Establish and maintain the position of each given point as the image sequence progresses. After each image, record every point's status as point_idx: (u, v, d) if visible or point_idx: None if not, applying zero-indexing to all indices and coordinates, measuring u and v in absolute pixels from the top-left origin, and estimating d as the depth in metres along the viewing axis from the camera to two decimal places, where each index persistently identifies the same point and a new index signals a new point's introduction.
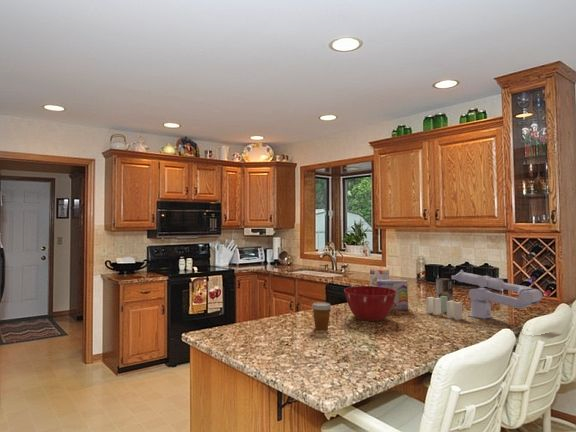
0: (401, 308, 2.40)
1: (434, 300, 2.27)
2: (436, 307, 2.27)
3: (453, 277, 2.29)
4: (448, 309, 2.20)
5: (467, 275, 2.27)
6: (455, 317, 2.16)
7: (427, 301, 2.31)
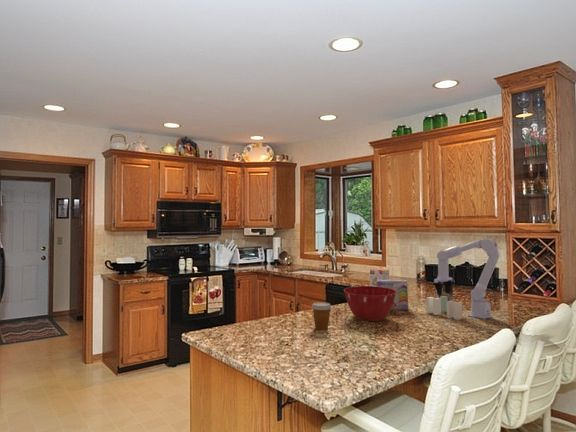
0: (401, 308, 2.40)
1: (434, 300, 2.27)
2: (436, 307, 2.27)
3: (435, 280, 2.31)
4: (448, 309, 2.20)
5: (439, 270, 2.35)
6: (455, 317, 2.16)
7: (427, 301, 2.31)
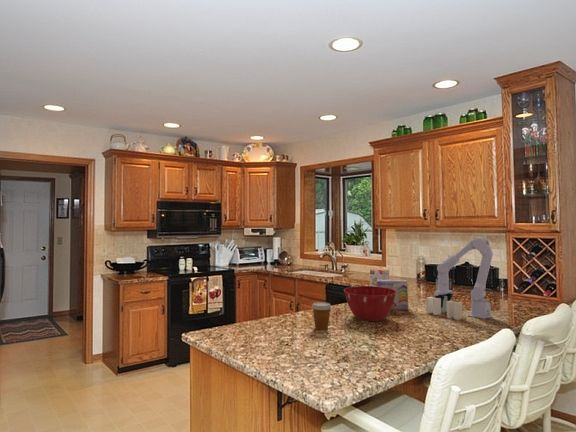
0: (401, 308, 2.40)
1: (434, 300, 2.27)
2: (436, 307, 2.27)
3: (435, 293, 2.31)
4: (448, 309, 2.20)
5: (439, 283, 2.34)
6: (455, 317, 2.16)
7: (427, 301, 2.31)
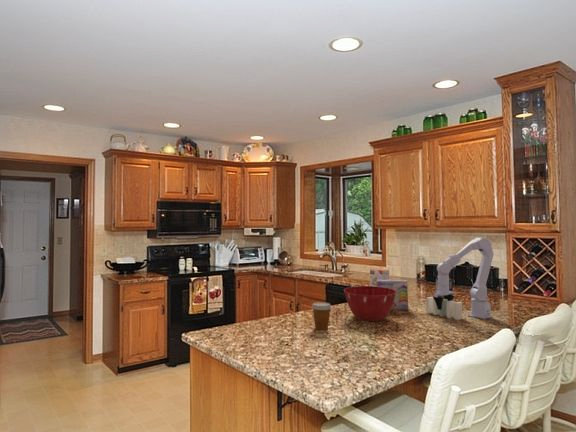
0: (401, 308, 2.40)
1: (434, 300, 2.27)
2: (436, 307, 2.27)
3: (435, 294, 2.21)
4: (448, 309, 2.20)
5: (441, 284, 2.23)
6: (455, 317, 2.16)
7: (427, 301, 2.31)
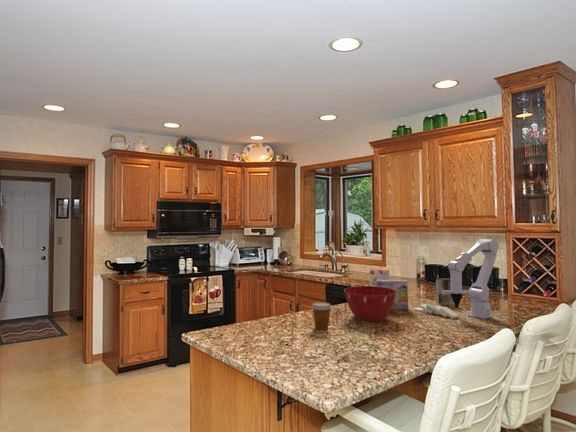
0: (401, 308, 2.40)
1: (420, 306, 2.36)
2: None
3: (442, 291, 2.20)
4: (439, 311, 2.25)
5: (456, 282, 2.16)
6: (451, 316, 2.18)
7: (416, 310, 2.38)
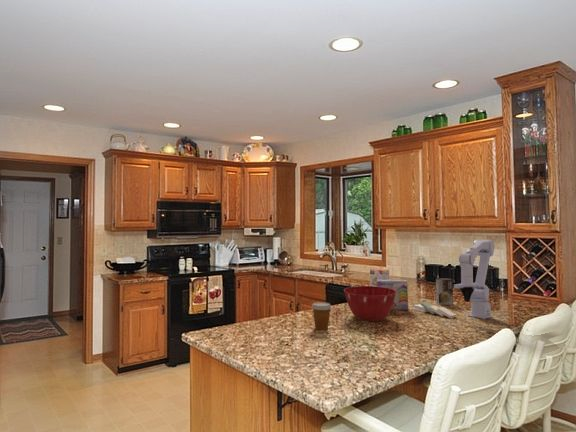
0: (401, 308, 2.40)
1: (415, 306, 2.41)
2: (420, 306, 2.38)
3: (455, 285, 2.11)
4: (435, 310, 2.26)
5: (469, 276, 2.10)
6: (448, 315, 2.19)
7: (414, 309, 2.39)
